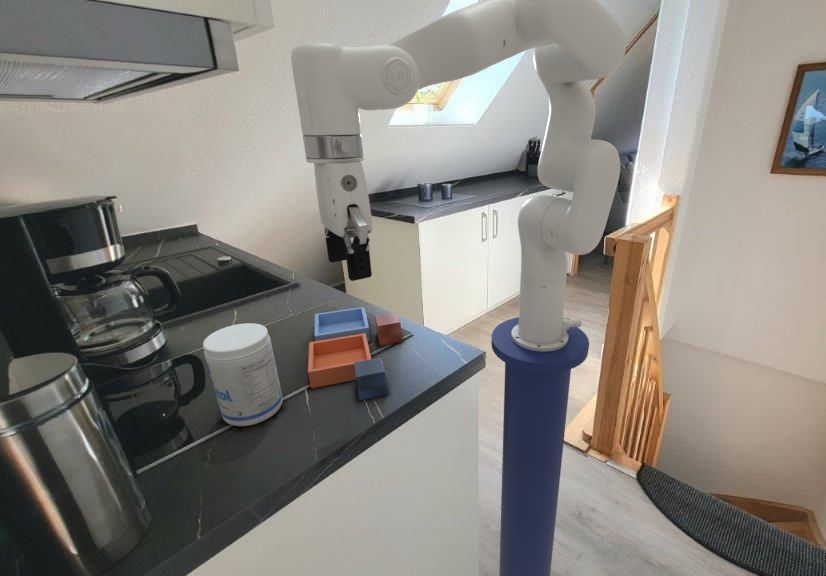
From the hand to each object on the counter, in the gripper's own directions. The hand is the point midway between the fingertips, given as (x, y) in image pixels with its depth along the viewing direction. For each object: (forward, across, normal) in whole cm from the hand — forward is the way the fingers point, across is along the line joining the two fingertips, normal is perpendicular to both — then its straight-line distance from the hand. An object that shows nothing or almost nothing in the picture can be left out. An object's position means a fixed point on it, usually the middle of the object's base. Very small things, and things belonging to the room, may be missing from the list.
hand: (349, 269), depth 61 cm
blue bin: (+25, +28, -5) cm, 38 cm away
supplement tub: (+26, +10, +17) cm, 32 cm away
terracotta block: (+25, +20, -13) cm, 35 cm away
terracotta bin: (+26, +15, 0) cm, 30 cm away
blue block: (+26, +4, -2) cm, 26 cm away
